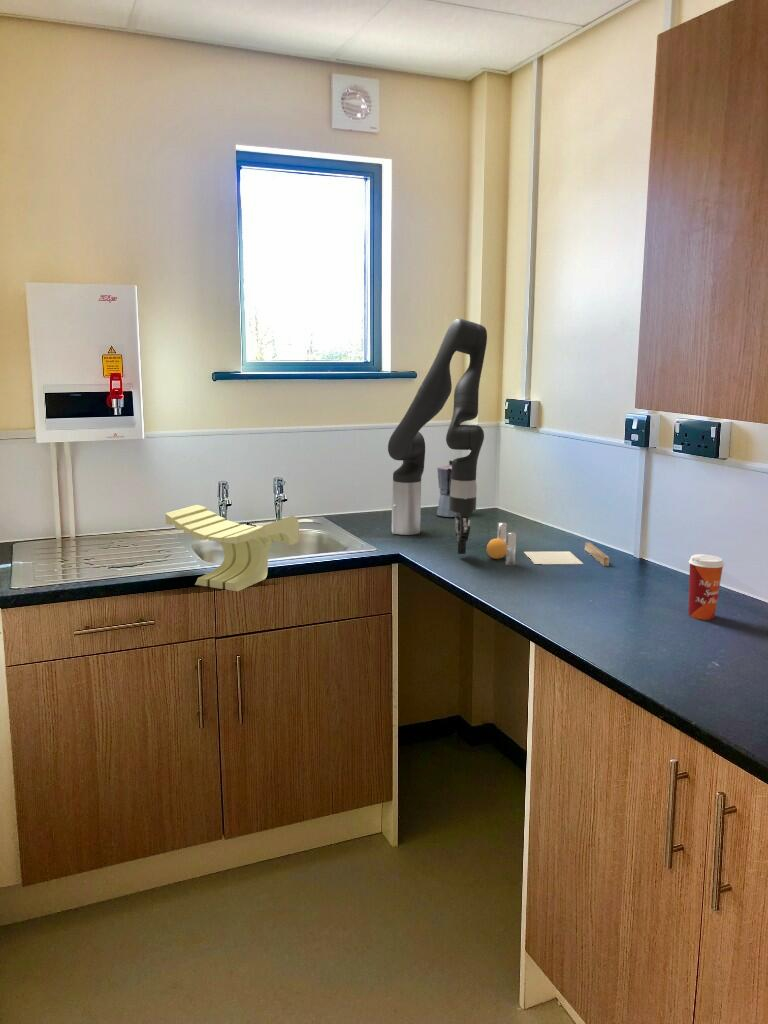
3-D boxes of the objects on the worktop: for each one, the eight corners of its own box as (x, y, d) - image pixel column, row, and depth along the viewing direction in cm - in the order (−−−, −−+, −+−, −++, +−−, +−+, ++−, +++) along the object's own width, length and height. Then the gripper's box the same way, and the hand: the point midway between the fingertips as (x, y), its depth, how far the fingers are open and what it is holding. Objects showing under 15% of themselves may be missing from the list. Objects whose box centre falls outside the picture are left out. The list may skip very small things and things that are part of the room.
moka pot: (462, 512, 308) (464, 458, 304) (462, 520, 293) (464, 464, 289) (436, 511, 309) (438, 457, 305) (435, 520, 294) (436, 463, 290)
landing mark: (534, 564, 236) (534, 563, 236) (523, 552, 250) (523, 551, 250) (583, 564, 237) (583, 563, 237) (569, 552, 251) (569, 551, 251)
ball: (514, 550, 239) (498, 564, 239) (508, 547, 245) (494, 561, 245) (500, 535, 238) (484, 549, 238) (495, 532, 244) (480, 546, 244)
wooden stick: (603, 566, 236) (604, 557, 235) (584, 550, 253) (585, 542, 253) (608, 566, 236) (609, 557, 235) (589, 550, 253) (590, 542, 253)
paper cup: (701, 623, 188) (706, 563, 186) (676, 613, 195) (681, 555, 192) (727, 619, 191) (733, 560, 189) (702, 609, 198) (707, 552, 196)
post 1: (497, 553, 248) (498, 524, 246) (495, 551, 250) (496, 522, 249) (506, 553, 248) (507, 524, 246) (504, 551, 251) (505, 522, 249)
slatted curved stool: (299, 579, 218) (298, 513, 215) (266, 596, 204) (265, 525, 201) (205, 565, 231) (203, 502, 227) (168, 580, 216) (165, 513, 213)
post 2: (506, 565, 235) (508, 534, 233) (504, 563, 238) (506, 532, 236) (515, 565, 235) (517, 534, 233) (513, 562, 238) (515, 532, 236)
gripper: (447, 490, 244) (445, 548, 248) (453, 499, 232) (451, 559, 235) (472, 490, 245) (470, 547, 248) (480, 499, 232) (478, 559, 235)
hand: (461, 553), depth 242 cm, fingers closed
